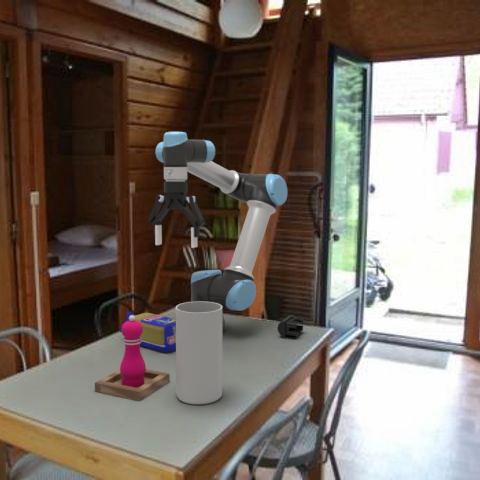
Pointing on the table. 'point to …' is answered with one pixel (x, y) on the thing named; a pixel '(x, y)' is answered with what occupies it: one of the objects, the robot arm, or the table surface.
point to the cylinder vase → (199, 352)
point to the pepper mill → (132, 354)
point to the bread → (156, 331)
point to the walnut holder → (115, 387)
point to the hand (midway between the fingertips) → (176, 246)
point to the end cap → (290, 327)
